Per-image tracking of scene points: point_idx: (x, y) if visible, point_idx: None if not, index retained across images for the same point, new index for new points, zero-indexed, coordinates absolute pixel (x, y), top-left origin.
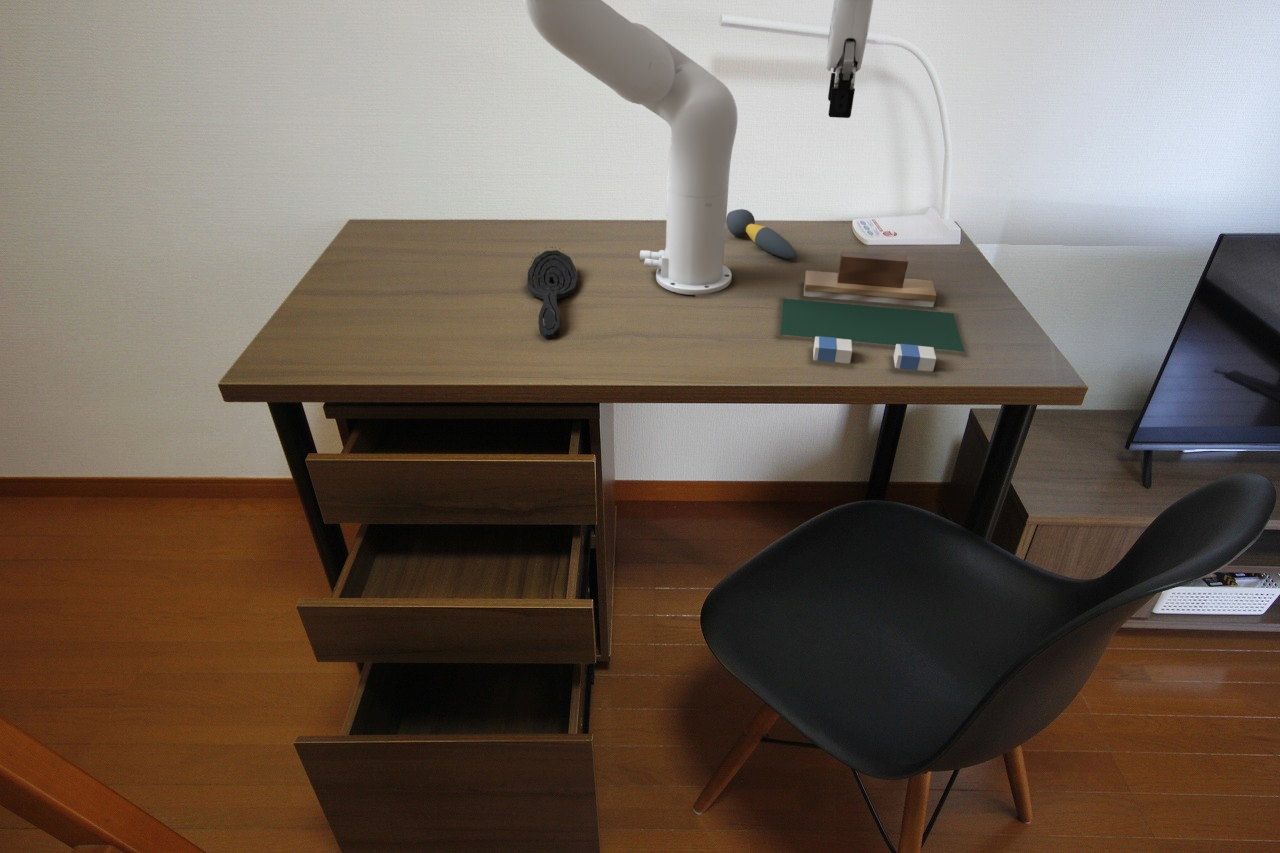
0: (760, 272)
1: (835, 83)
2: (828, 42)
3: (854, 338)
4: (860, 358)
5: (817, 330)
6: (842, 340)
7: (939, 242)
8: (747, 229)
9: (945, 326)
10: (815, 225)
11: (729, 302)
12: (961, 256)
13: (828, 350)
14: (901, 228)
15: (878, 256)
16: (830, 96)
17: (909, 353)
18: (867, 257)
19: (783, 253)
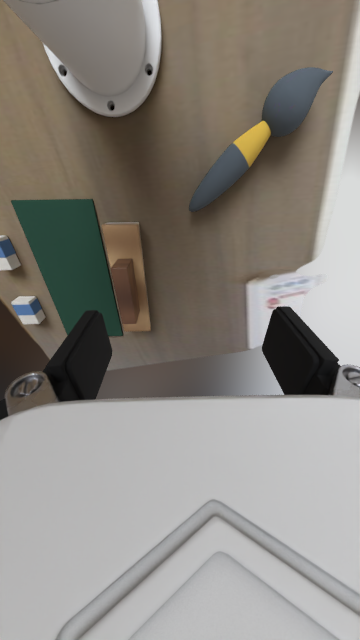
0: (157, 163)
1: (5, 393)
2: (302, 609)
3: (45, 270)
4: (21, 273)
5: (41, 238)
6: (5, 262)
7: (253, 337)
8: (257, 124)
9: None
10: (303, 230)
11: (59, 123)
12: (226, 347)
13: None
14: None
15: (124, 302)
16: (276, 316)
17: (17, 309)
18: (117, 292)
19: (194, 193)
